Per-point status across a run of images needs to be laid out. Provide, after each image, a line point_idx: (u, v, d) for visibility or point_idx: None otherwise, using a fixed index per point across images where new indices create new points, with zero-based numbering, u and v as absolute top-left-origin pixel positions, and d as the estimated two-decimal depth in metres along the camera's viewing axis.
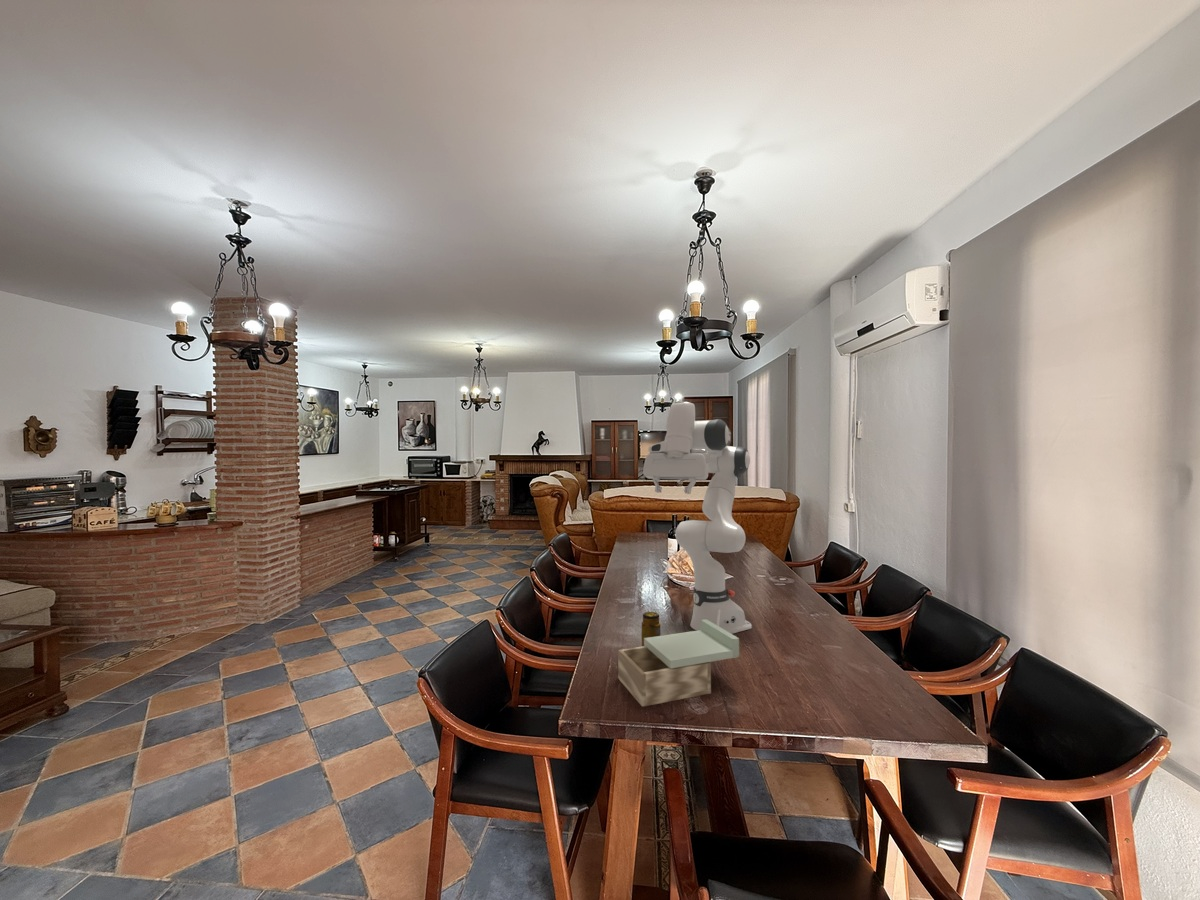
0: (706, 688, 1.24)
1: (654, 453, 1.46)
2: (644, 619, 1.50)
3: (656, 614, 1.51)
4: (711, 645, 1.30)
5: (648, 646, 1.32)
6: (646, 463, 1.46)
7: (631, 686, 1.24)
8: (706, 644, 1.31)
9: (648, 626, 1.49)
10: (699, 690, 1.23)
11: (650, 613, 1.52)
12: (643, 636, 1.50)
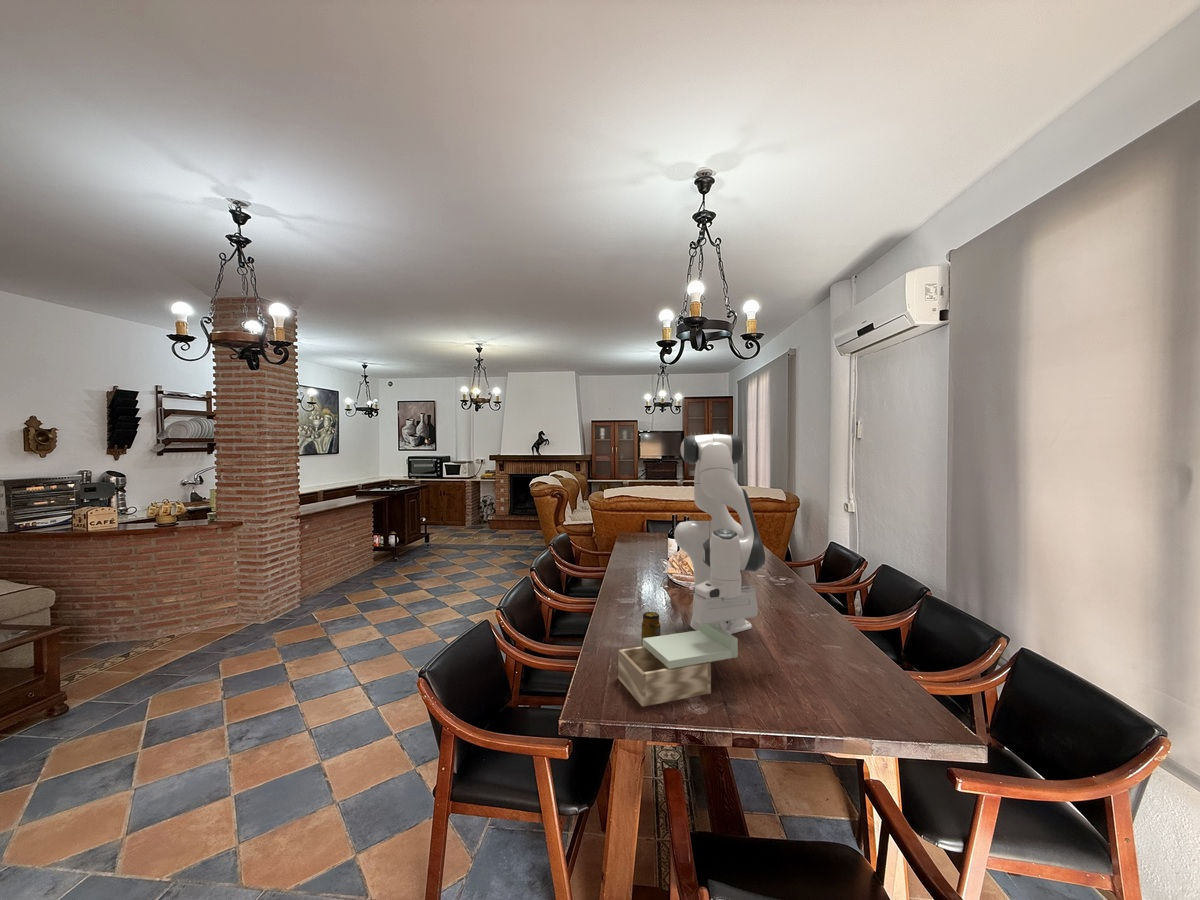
0: (706, 688, 1.24)
1: (711, 599, 1.31)
2: (644, 619, 1.50)
3: (656, 614, 1.51)
4: (709, 645, 1.30)
5: (647, 646, 1.32)
6: (703, 611, 1.30)
7: (631, 686, 1.24)
8: (705, 644, 1.30)
9: (648, 626, 1.49)
10: (699, 690, 1.23)
11: (650, 613, 1.52)
12: (643, 636, 1.50)
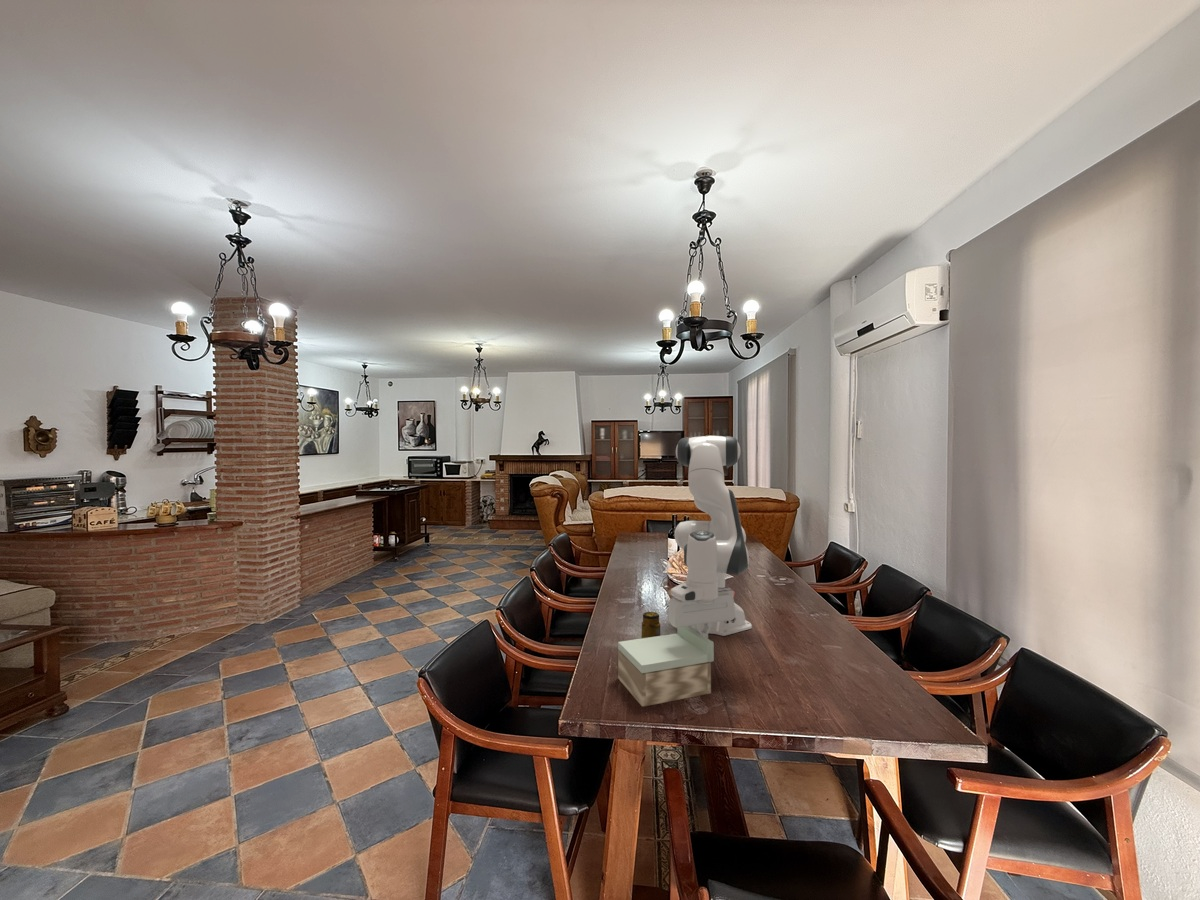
0: (706, 688, 1.24)
1: (687, 602, 1.28)
2: (644, 619, 1.50)
3: (656, 614, 1.51)
4: (685, 649, 1.27)
5: (622, 650, 1.30)
6: (678, 614, 1.27)
7: (631, 686, 1.24)
8: (681, 648, 1.28)
9: (648, 626, 1.49)
10: (699, 690, 1.23)
11: (650, 613, 1.52)
12: (643, 636, 1.50)
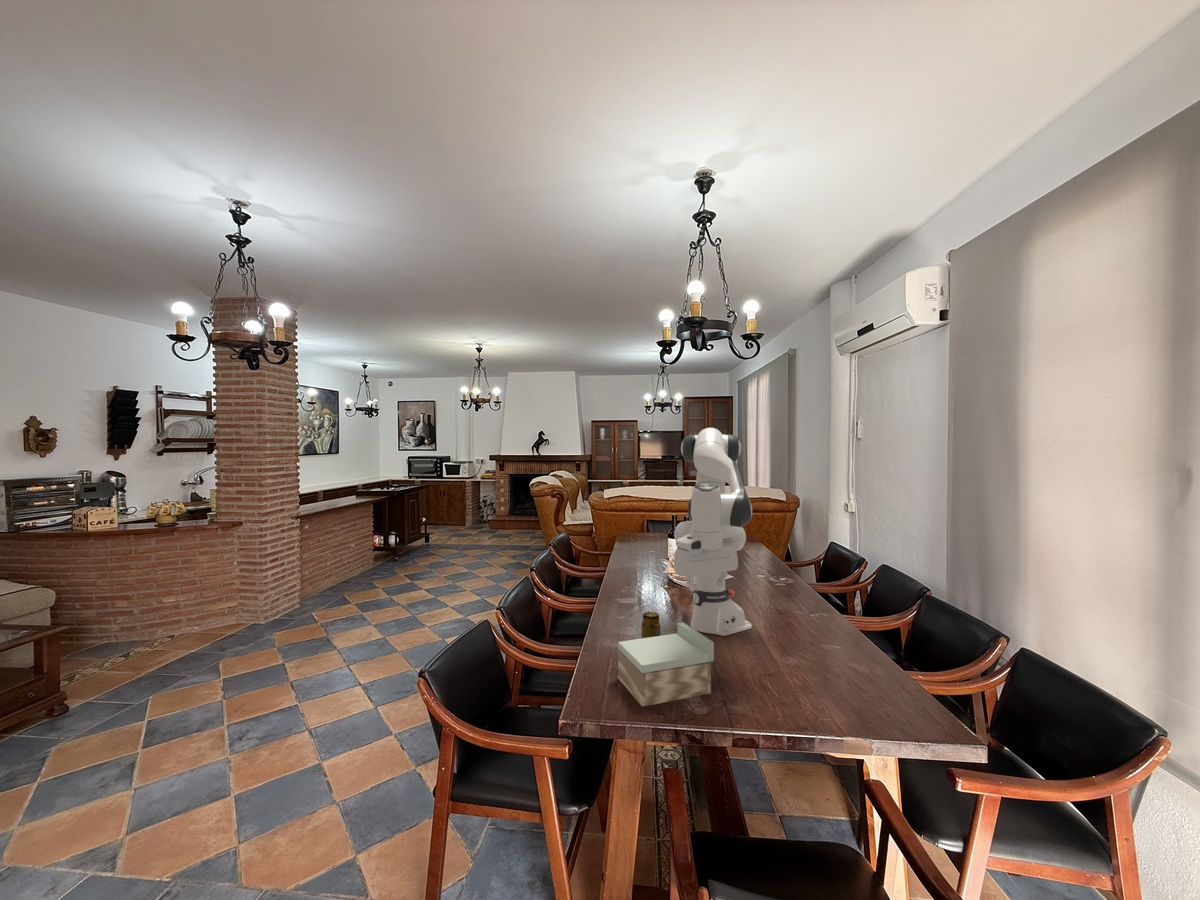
0: (706, 688, 1.24)
1: (693, 551, 1.30)
2: (644, 619, 1.50)
3: (656, 614, 1.51)
4: (685, 649, 1.27)
5: (622, 650, 1.30)
6: (684, 563, 1.29)
7: (631, 686, 1.24)
8: (681, 648, 1.28)
9: (648, 626, 1.48)
10: (699, 690, 1.23)
11: (650, 613, 1.52)
12: (643, 636, 1.50)
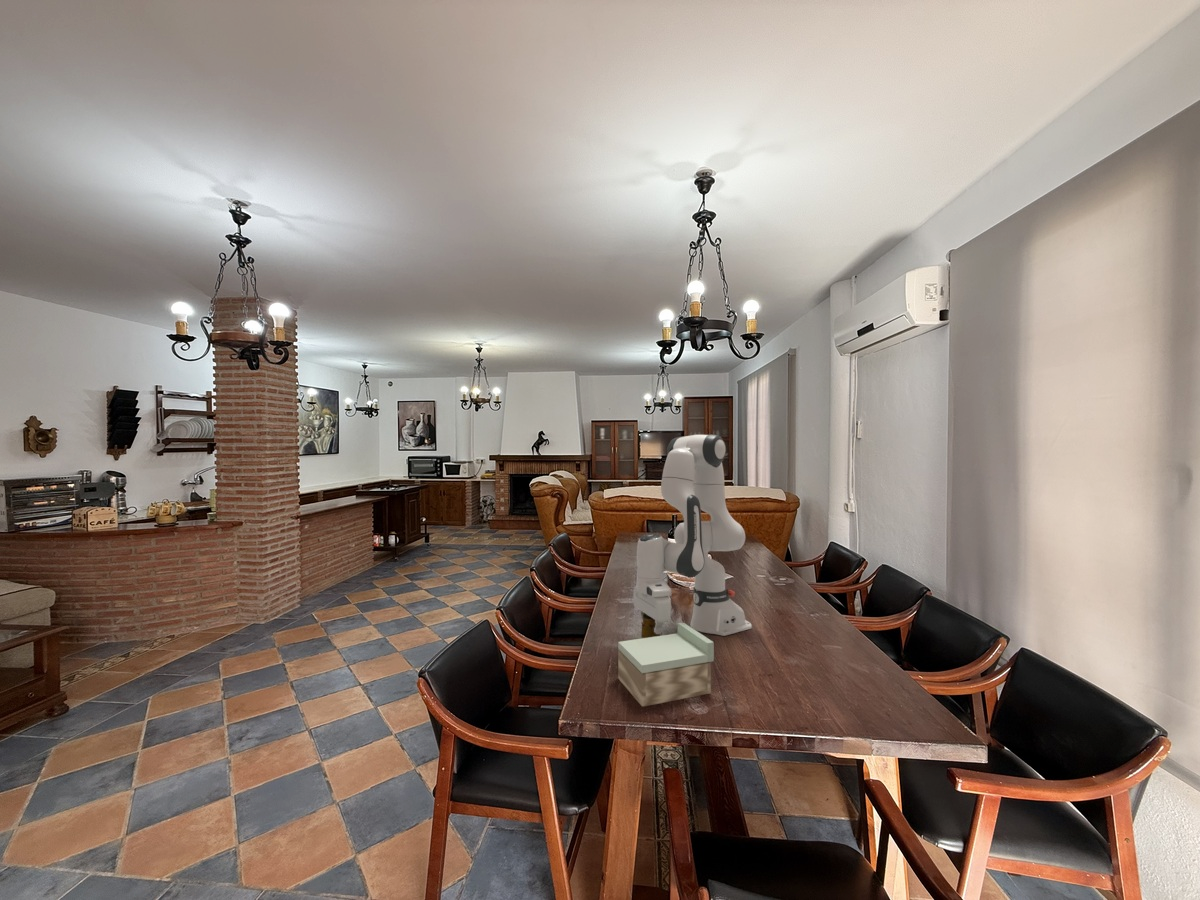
0: (706, 688, 1.24)
1: None
2: (644, 619, 1.50)
3: None
4: (685, 649, 1.27)
5: (622, 650, 1.30)
6: None
7: (631, 686, 1.24)
8: (681, 648, 1.28)
9: (648, 627, 1.48)
10: (699, 690, 1.23)
11: None
12: (643, 636, 1.50)
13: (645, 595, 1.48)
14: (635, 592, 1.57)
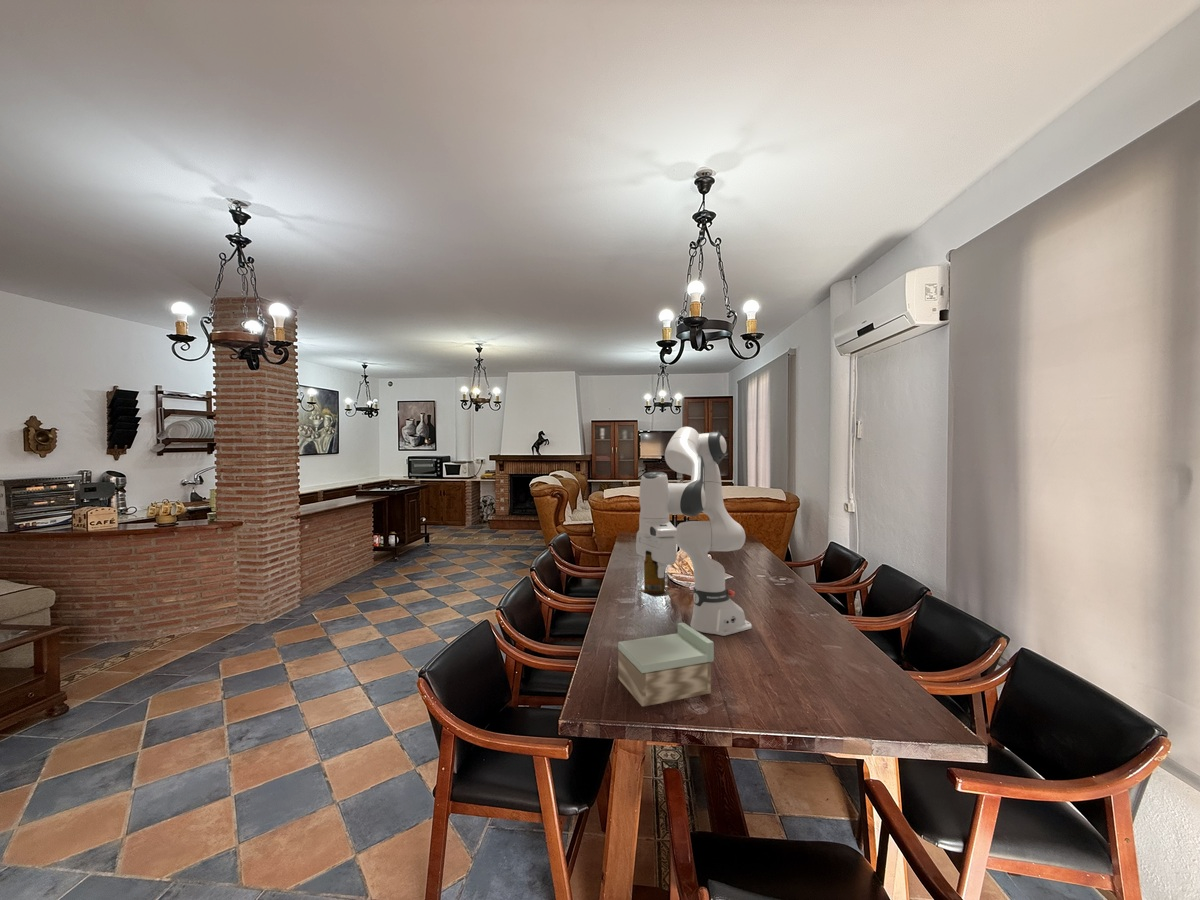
0: (706, 688, 1.24)
1: None
2: (647, 556, 1.36)
3: None
4: (685, 649, 1.27)
5: (622, 650, 1.30)
6: None
7: (631, 686, 1.24)
8: (681, 648, 1.28)
9: (651, 563, 1.34)
10: (699, 690, 1.23)
11: None
12: (646, 574, 1.35)
13: (648, 537, 1.35)
14: (638, 537, 1.44)
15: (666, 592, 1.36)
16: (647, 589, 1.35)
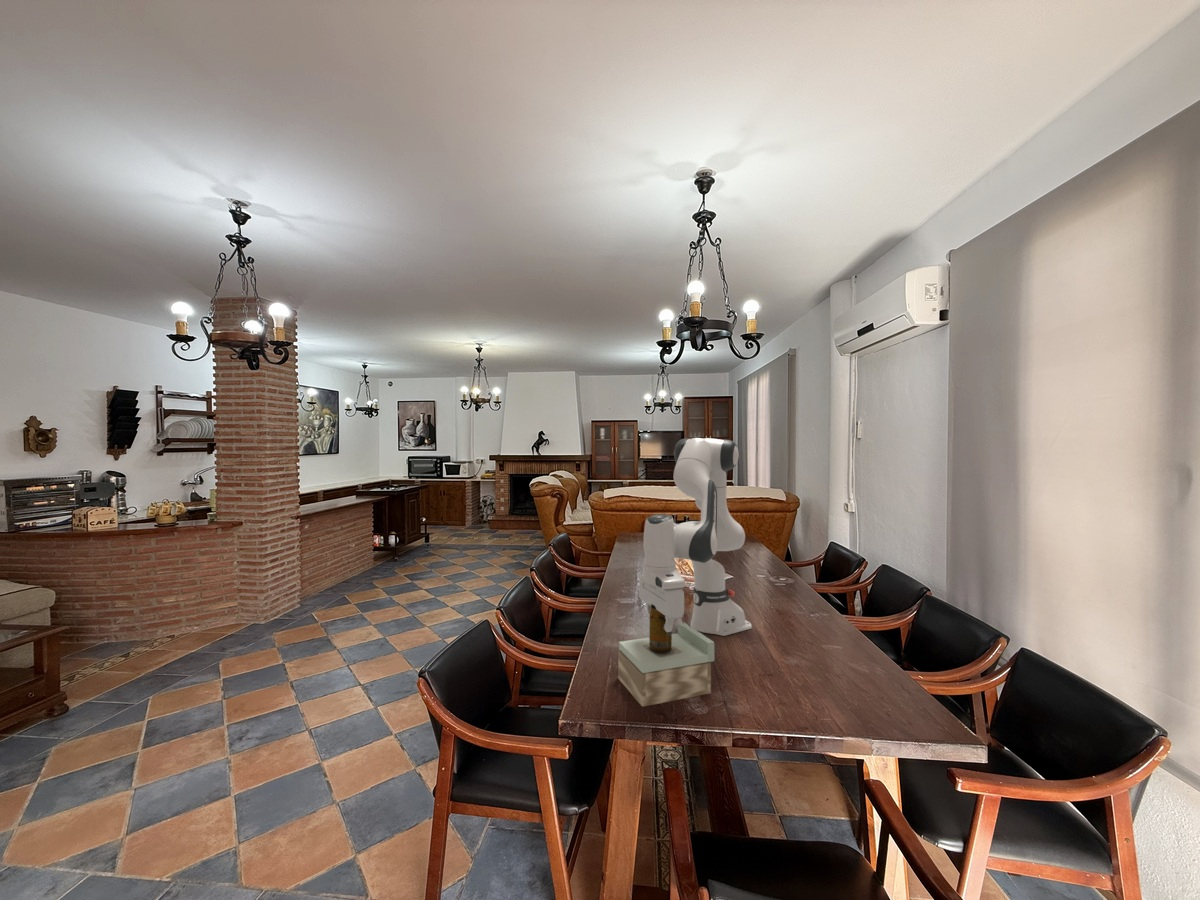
0: (706, 688, 1.24)
1: None
2: (652, 610, 1.27)
3: None
4: (686, 649, 1.27)
5: (622, 650, 1.30)
6: None
7: (631, 686, 1.24)
8: (682, 648, 1.28)
9: (657, 618, 1.26)
10: (699, 690, 1.23)
11: None
12: (651, 630, 1.27)
13: (653, 586, 1.26)
14: (641, 582, 1.35)
15: (673, 649, 1.27)
16: (653, 646, 1.26)
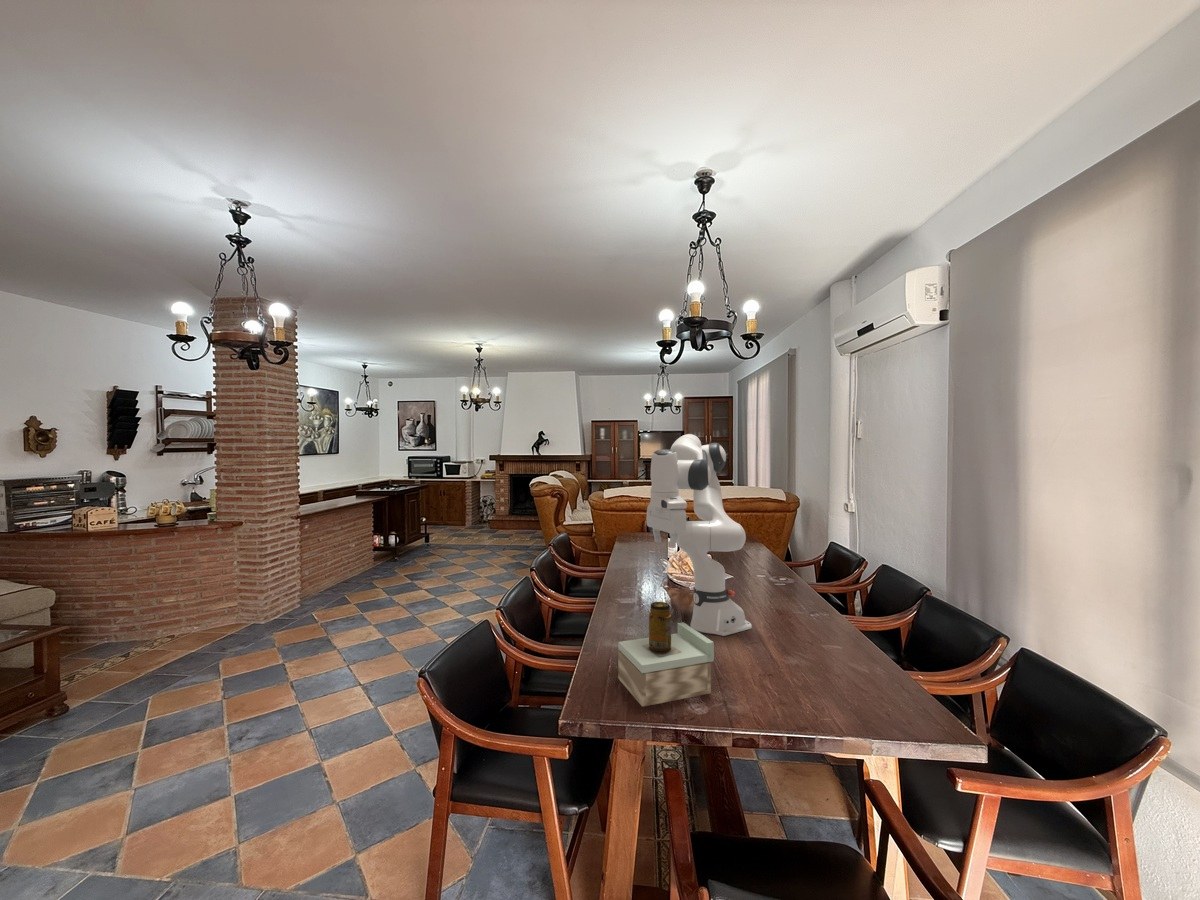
0: (706, 688, 1.24)
1: None
2: (652, 610, 1.27)
3: (666, 604, 1.28)
4: (686, 649, 1.27)
5: (622, 650, 1.30)
6: None
7: (631, 686, 1.24)
8: (681, 648, 1.28)
9: (656, 619, 1.26)
10: (699, 690, 1.23)
11: (659, 603, 1.29)
12: (651, 630, 1.27)
13: (659, 510, 1.44)
14: (648, 511, 1.54)
15: (672, 649, 1.27)
16: (652, 646, 1.26)
